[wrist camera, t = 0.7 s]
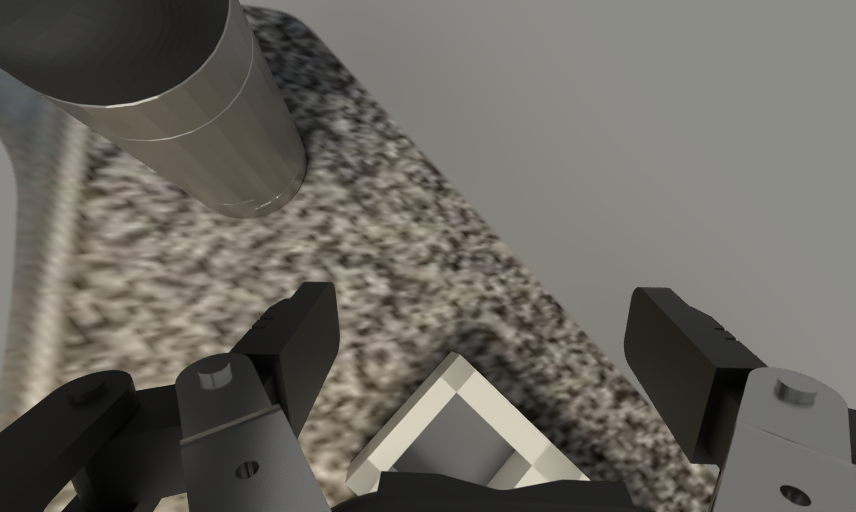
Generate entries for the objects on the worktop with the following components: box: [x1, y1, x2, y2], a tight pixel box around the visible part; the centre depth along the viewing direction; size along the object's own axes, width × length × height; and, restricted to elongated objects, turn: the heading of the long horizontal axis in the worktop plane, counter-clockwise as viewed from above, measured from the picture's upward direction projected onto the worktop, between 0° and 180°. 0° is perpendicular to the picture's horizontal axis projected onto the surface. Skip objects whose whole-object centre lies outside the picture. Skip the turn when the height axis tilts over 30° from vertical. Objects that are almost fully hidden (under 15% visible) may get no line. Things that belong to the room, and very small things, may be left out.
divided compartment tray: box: [345, 351, 591, 496], centre depth 30 cm, size 20×11×4 cm, turn 47°
